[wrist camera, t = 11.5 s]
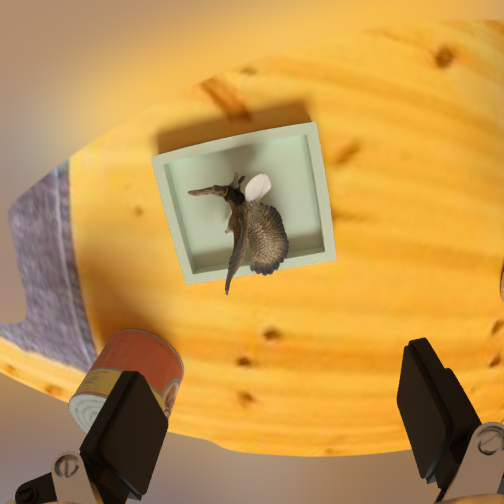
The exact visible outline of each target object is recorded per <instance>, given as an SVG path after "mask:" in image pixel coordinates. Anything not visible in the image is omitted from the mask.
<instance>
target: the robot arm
mask: <svg viewBox="0 0 504 504" xmlns="http://www.w3.org/2000/svg"><path fill="white" fill-rule="evenodd" d="M501 296H502V300H503V302H504V271H503V275H502V280H501ZM397 405H398V408H399V411H400V414H401V417H402V420H403V423H404V426H405V429H406V432H407V435H408V438H409V441H410V444H411V447H412V450H413V454H414V457H415V460H416V463H417V467H418V470H419V473H420V476H421V478H422V479H424V478H426V480H427V484H430V483H432V482H437V485H438V488H440V491H439V492H438V495H437V496H436V499H435V500H434V502H433V504H504V425H503V424H501V423H498V422H487V423H484V424H482V423H481V421H480V419H479V417H478V415H477V414H476V412H475V410H474V408H473V406H472V404H471V402H470V401H469V399H468V397H467V395H466V393H465V392H464V390H463V388H462V386H461V385H460V383H459V381H458V379H457V378H456V376H455V374H454V373H453V371H452V370H451V369H450V368H446V369H445V368H444V367H443V365H442V363H441V361H440V360H439V358H438V356H437V355H436V353H435V351H434V350H433V348H432V347H431V345H430V343H429V342H428V340H427V339H426V338H425V337H424V338H420V339H416V340H411V341H410V342H409V344H408V346H405V347H404V353H403V361H402V368H401V375H400V381H399V387H398V393H397ZM167 429H168V419H167V417H166V415H165V414H164V412H163V410H162V408H161V407H160V405H159V403H158V401H157V399H156V398H155V396H154V394H153V392H152V390H151V388H150V386H149V384H148V383H147V381H146V379H145V377H144V375H141V374H140V372H138V371H123V372H122V373H121V375H120V376H119V378H118V380H117V382H116V383H115V385H114V387H113V389H112V390H111V392H110V394H109V396H108V397H107V399H106V401H105V403H104V404H103V406H102V408H101V410H100V412H99V413H98V415H97V417H96V419H95V421H94V422H93V424H92V426H91V428H90V430H89V432H88V434H87V436H86V437H85V439H84V441H83V443H82V445H81V447H80V449H79V450H80V451H81V452H80V454H78V453H75V452H73V451H67V452H63V453H61V454H59V455H58V456H57V457H56V458H55V459H54V461H53V462H52V466H51V472H50V473H48V474H45V475H43V476H41V477H38V478H36V479H34V480H31V481H28V482H26V483H24V484H22V485H21V486H20V487H19V488H18V489H17V491H16V495H15V500H13V499H11V500H10V501H8V502H7V503H5V504H126V500H127V498H130V499H135V500H139V501H140V500H141V497H142V495H144V494H146V492H147V489H148V486H149V483H150V480H151V477H152V474H153V471H154V468H155V465H156V462H157V459H158V456H159V452H160V450H161V447H162V444H163V441H164V438H165V435H166V432H167Z"/></svg>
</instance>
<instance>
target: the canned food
mask: <svg viewBox="0 0 504 504" xmlns="http://www.w3.org/2000/svg"><path fill="white" fill-rule="evenodd" d="M123 371H138V372H140V374H141V375H144V377H145V379H146V381H147V383H148V384H149V386H150V388H151V390H152V392H153V394H154V396H155V398H156V399H157V401H158V403H159V405H160V407H161V408H162V410H163V412H164V414H165V415H166V417H167V419H168V421H169V418H170V415H171V412H172V408H173V405H174V402H175V399H176V396H177V392H178V389H179V386H180V383H181V381H182V379H183V376H184V366H183V363H182V360H181V358H180V356H179V355H178V353H177V352H176V351H175V350H174V348H173V347H172V346H171V345H169V344H168V343H167V342H166V341H164V340H163V339H161V338H160V337H158V336H156V335H154V334H152V333H149V332H147V331H143V330H138V329H124V330H120V331H118V332H116V333H114V334H113V335H112V336H111V337H110V339H109V340H108V342H107V344H106V346H105V347H104V349H103V350H102V352H101V353H100V355H99V356H98V358H97V359H96V361H95V363H94V364H93V366H92V367H91V369H90V370H89V372H88V373H87V375H86V376H85V378H84V380H83V381H82V383H81V384H80V386H79V388H78V389H77V391H76V392H75V394H74V395H73V396H72V397H71V399H70V401H69V404H68V405H69V406H68V407H69V411H70V414H71V416H72V418H73V419H74V421H75V423H76V424H77V425H78V426H79V427H80V428H81V429H82V430H83V431H84V432H85V433H86V434H88V432H89V430H90V428H91V426H92V424H93V422H94V421H95V419H96V417H97V415H98V413H99V412H100V410H101V408H102V406H103V404H104V403H105V401H106V399H107V397H108V396H109V394H110V392H111V390H112V389H113V387H114V385H115V383H116V382H117V380H118V378H119V376H120V375H121V373H122V372H123Z"/></svg>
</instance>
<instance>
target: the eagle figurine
mask: <svg viewBox="0 0 504 504" xmlns="http://www.w3.org/2000/svg"><path fill="white" fill-rule="evenodd" d="M244 179H245V176H242V177H240V179H239V180H238V173H236V172H235V173H234V180H233V182H232V183H230V184H229V185H224V186H219V185H213V187H208V188H204V189H199V190H192V191H188V194H189V195H192V196H200V195H208V194H214V195H216V196H220V197H223V198H224V199H225V201H226V202H228V203H229V204H230V207H231V210H232V215H231V216H230V218H229V220H228V226H227V229H226V230H225V233H226V234H227V235H232V234H233V235H234V247H233V252H232V255H231V257H230V259H229V260H230V262H229V268H228V274H227V279H226V285H225V291H226V295H228V290H229V286H230V281H231V279H232V277H233V276H234V275H235V273H236V272H237V270H238V268H239V267H240V265H241V263H242V261H243V258H244V255H245V251H246V246H247V238H248V240H249V244H250V250H251V258H250V270H251V271H252V272H253V271H255V272H256V273H257V274H260V273H262V275H264V276H266V275H267V274H270V275H271V274H272V273H273V271H274V270H278V268H279V266H280V263H283V262H284V258H286V257H287V254H288V249H289V245H288V244H289V241H288V240H287V234H286V232H285V228H284V225H283V223H282V217H281V215H280V213H279V212H278V211H277V210H276V208H275V207H273V206H268V205H264V204H263V203H260V200H261V198H262V197H263V196H264V195H265V194H266V193H267V192H268V191H269V190H270V188H271V181H270V179H269V176H268V175H266V174H265V173H258V174H257V175H255V176H253V177H252V178H251V179H250V180H249V181H248V183H247V184H246V186H245V190H244V192H245V195H244V193H242V192H241V191H240V187H241V185H240V184H241V183H242V182H243V181H244Z"/></svg>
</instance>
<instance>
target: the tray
mask: <svg viewBox="0 0 504 504" xmlns="http://www.w3.org/2000/svg"><path fill="white" fill-rule="evenodd" d="M151 160H152V164H153V168H154V172H155V176H156V180H157V184H158V188H159V192H160V196H161V200H162V204H163V207H164V211H165V215H166V218H167V222H168V226H169V229H170V233H171V236H172V240H173V243H174V247H175V250H176V253H177V257H178V260H179V263H180V267H181V270H182V273H183V276H184V279H185V283H186V285H189V284H196V283H202V282H208V281H215V280H221V279H227V274H228V268H229V262H230V260H229V259H230V257H231V255H232V252H233V247H234V235H233V234H232V235H227V234H226V233H225V230H226V229H227V226H228V220H229V218H230V216H231V215H232V210H231V207H230V204H229V203H228V202H226V201H225V199H224V198H223V197H220V196H216V195H214V194H208V195H200V196H192V195H189V194H188V191H192V190H199V189H204V188H208V187H213V185H219V186H224V185H229V184H230V183H232V182H233V180H234V173H235V172H236V173H238V180H239V179H240V177H242V176H245V179H244V181H243V182H242V183H241V184H240V185H241V187H240V191H241V192H242V193H244V195H245V192H244V190H245V186H246V184H247V183H248V181H249V180H250V179H251V178H252V177H253V176H255V175H257V174H258V173H265V174H266V175H268V176H269V179H270V181H271V188H270V190H269V191H268V192H267V193H266V194H265V195H264V196H263V197H262V198H261V200H260V203H263V204H264V205H268V206H273V207H275V208H276V210H277V211H278V212H279V213H280V215H281V217H282V223H283V225H284V228H285V232H286V234H287V240H288V241H289V244H288V245H289V249H288V254H287V257H286V258H284V262H283V263H280V266H279V268H278V270H282V269H287V268H293V267H299V266H305V265H310V264H316V263H322V262H327V261H333V260H336V250H335V241H334V233H333V225H332V217H331V209H330V202H329V195H328V188H327V181H326V175H325V169H324V163H323V157H322V151H321V145H320V140H319V134H318V129H317V124H316V122H310V123H303V124H296V125H290V126H284V127H278V128H272V129H267V130H261V131H256V132H251V133H246V134H241V135H236V136H232V137H227V138H223V139H218V140H214V141H210V142H205V143H201V144H197V145H193V146H189V147H185V148H182V149H178V150H174V151H171V152H167V153H163V154H160V155H156V156H153V157H151ZM250 258H251V250H250V244H249V240H248V238H247V246H246V251H245V255H244V258H243V261H242V263H241V265H240V267H239V268H238V270H237V272H236V273H235V275H234V276H233V277H240V276H246V275H252V274H257V273H256V272H255V271H253V272H252V271H251V270H250ZM274 271H276V270H274ZM233 277H232V278H233Z"/></svg>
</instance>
